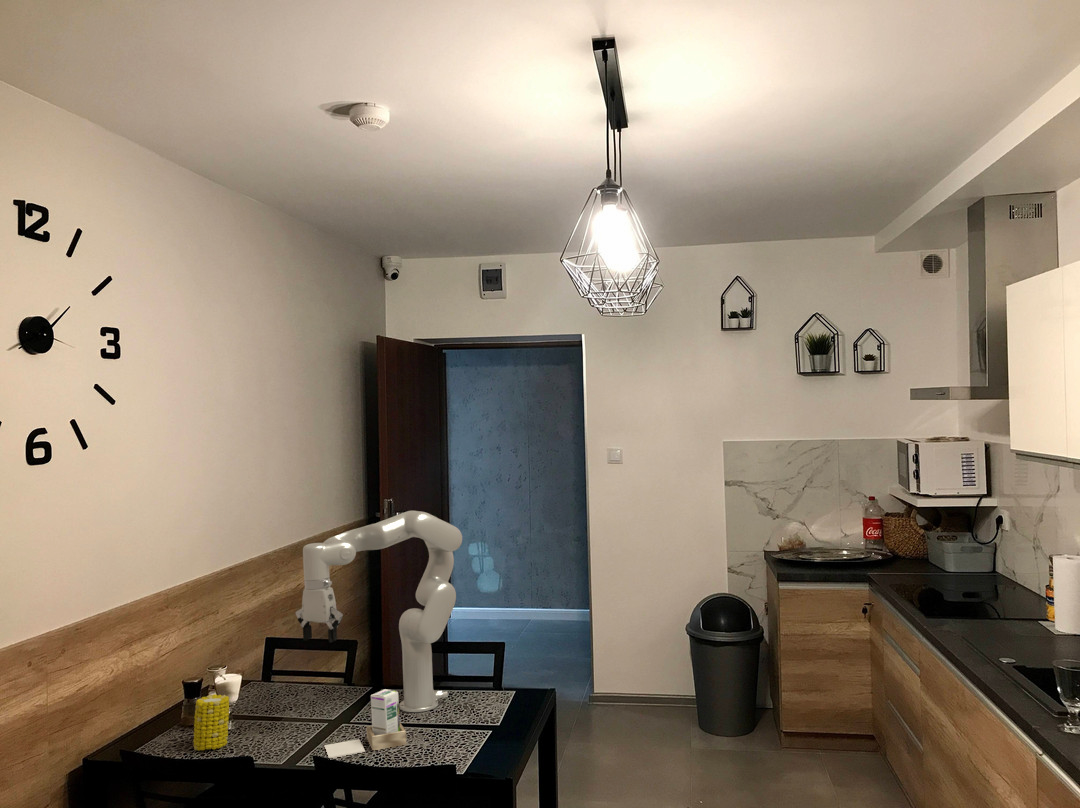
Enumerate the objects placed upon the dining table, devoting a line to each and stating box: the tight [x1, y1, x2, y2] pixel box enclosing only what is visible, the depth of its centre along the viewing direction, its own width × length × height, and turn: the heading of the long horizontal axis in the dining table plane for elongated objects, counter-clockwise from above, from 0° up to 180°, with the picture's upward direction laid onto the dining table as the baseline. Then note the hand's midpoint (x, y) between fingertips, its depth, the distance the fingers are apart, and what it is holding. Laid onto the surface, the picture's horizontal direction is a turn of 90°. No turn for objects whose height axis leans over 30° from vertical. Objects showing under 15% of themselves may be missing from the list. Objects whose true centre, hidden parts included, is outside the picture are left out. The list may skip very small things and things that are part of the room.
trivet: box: [323, 738, 366, 760], centre depth 237 cm, size 10×10×1 cm
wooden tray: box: [366, 722, 407, 751], centre depth 241 cm, size 10×10×4 cm
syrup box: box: [370, 688, 401, 736], centre depth 242 cm, size 6×6×14 cm
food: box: [192, 693, 230, 751], centre depth 245 cm, size 15×12×10 cm
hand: (320, 640), depth 254 cm, fingers open, 9 cm apart
